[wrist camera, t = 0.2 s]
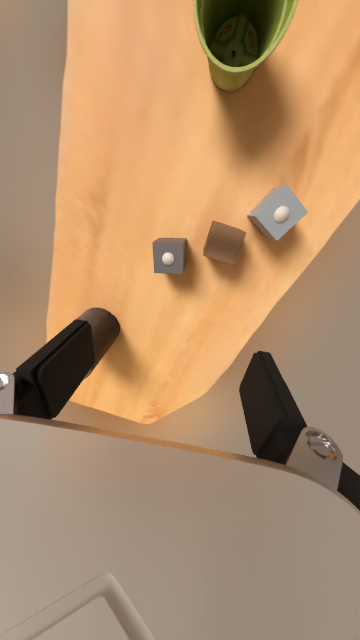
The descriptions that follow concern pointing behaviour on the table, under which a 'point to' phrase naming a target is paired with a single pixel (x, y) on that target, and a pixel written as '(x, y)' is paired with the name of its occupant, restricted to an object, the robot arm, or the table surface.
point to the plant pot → (240, 35)
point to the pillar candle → (101, 331)
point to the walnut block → (223, 242)
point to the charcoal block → (169, 255)
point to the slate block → (277, 212)
